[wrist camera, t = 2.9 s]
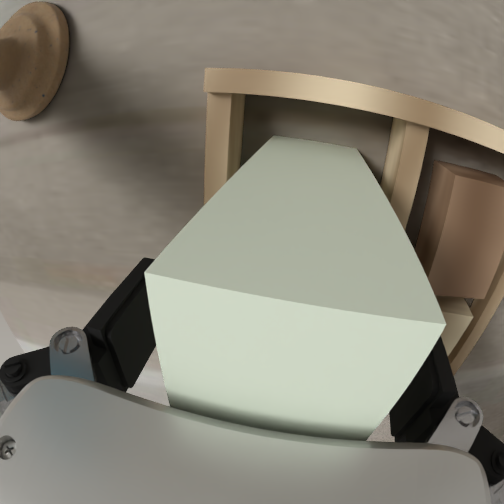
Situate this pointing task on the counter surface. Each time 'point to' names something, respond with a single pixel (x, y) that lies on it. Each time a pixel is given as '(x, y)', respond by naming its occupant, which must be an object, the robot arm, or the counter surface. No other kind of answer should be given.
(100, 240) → the counter surface
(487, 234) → the walnut offcut
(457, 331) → the pine offcut
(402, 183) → the oak rack
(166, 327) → the sage panel
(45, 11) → the candle holder
